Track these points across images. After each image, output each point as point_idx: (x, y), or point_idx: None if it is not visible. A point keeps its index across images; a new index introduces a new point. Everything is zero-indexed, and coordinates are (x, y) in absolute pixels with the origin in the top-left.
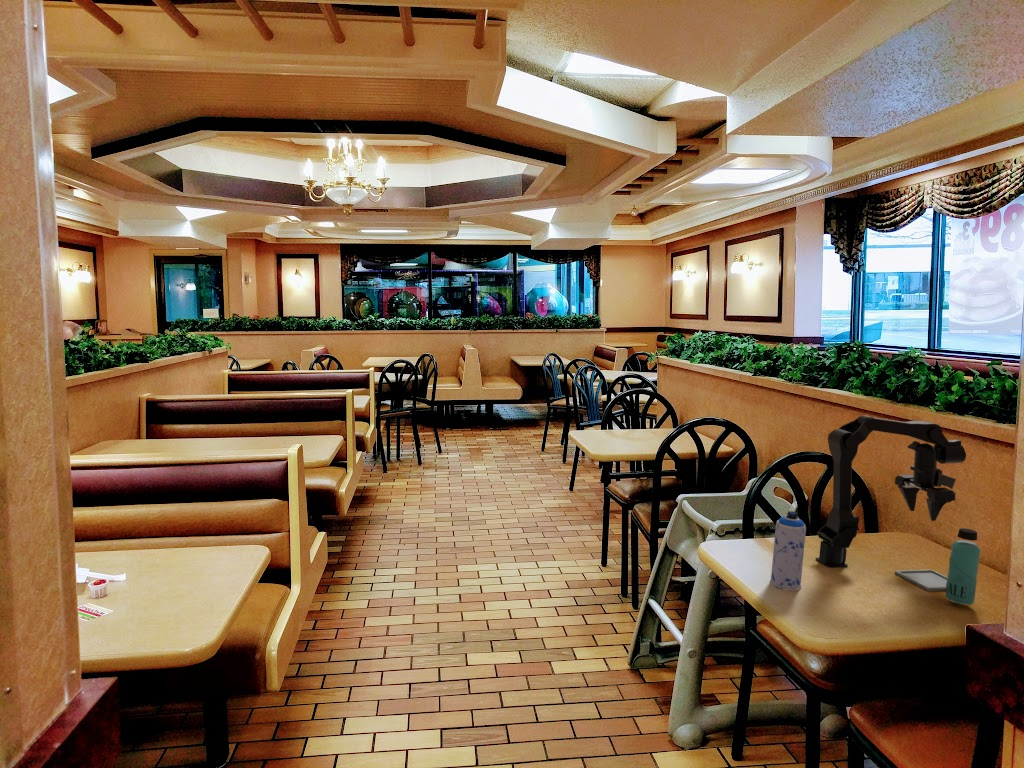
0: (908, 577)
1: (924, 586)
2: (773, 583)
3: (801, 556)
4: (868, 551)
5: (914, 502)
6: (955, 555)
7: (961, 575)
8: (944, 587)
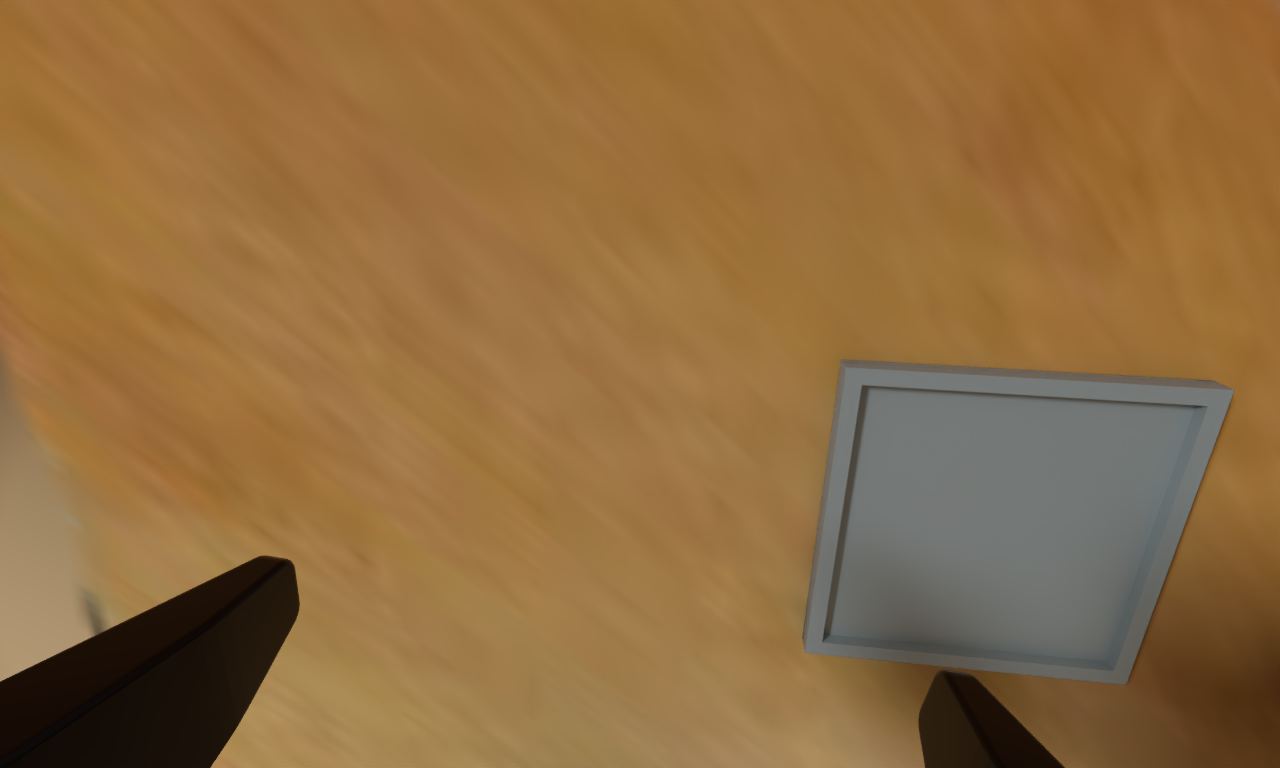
0: (934, 665)
1: (1088, 679)
2: None
3: None
4: (382, 485)
5: (125, 710)
6: None
7: None
8: (1165, 575)
